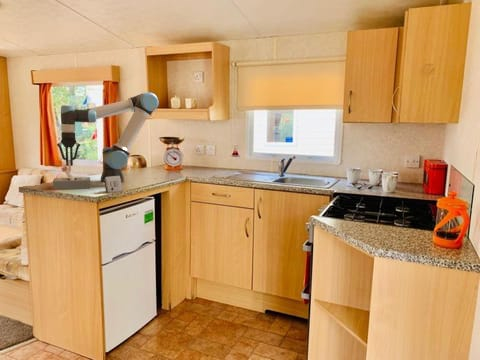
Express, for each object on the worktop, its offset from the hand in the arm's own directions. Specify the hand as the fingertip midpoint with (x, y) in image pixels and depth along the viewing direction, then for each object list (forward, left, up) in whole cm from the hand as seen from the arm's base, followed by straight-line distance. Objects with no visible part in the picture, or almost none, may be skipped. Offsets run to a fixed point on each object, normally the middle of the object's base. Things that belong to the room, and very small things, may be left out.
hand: (69, 171), depth 220 cm
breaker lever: (-2, +1, -6) cm, 6 cm away
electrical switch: (-23, +21, -10) cm, 33 cm away
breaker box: (-1, +1, -10) cm, 10 cm away
